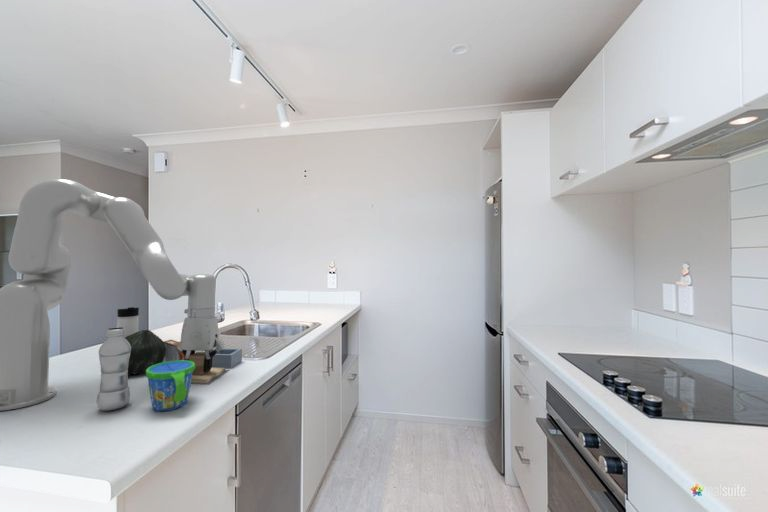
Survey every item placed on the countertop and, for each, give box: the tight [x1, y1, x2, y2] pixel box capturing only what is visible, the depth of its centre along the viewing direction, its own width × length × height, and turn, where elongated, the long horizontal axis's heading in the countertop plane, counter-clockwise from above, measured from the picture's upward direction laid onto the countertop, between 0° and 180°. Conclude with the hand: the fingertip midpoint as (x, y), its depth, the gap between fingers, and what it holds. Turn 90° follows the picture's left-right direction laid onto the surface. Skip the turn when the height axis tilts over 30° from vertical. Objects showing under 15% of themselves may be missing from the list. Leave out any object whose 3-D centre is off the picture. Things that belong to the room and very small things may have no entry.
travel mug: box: [116, 306, 140, 338], centre depth 119 cm, size 6×7×20 cm
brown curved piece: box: [163, 339, 187, 362], centre depth 115 cm, size 15×3×8 cm, turn 58°
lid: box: [189, 351, 226, 383], centre depth 103 cm, size 11×11×7 cm
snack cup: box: [145, 360, 195, 412], centre depth 83 cm, size 16×10×10 cm
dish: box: [212, 348, 243, 370], centre depth 115 cm, size 8×8×5 cm
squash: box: [125, 329, 166, 375], centre depth 107 cm, size 14×15×15 cm
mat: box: [190, 369, 231, 386], centre depth 103 cm, size 13×13×1 cm
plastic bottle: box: [96, 326, 131, 412], centre depth 81 cm, size 6×7×20 cm
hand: (199, 369), depth 103 cm, fingers closed on lid, 4 cm apart
